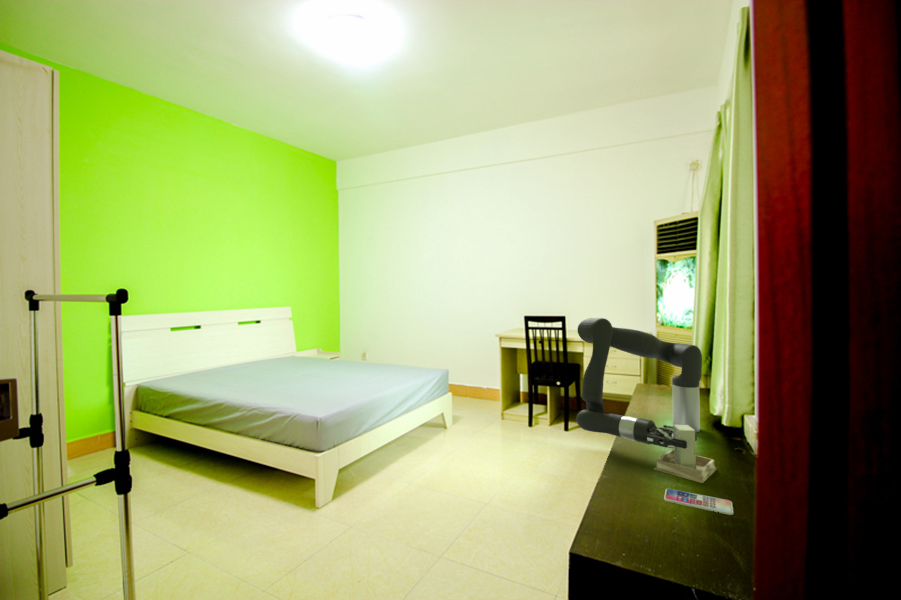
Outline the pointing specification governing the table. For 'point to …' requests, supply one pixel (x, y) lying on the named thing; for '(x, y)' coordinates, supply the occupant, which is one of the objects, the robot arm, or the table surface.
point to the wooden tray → (699, 474)
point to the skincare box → (689, 454)
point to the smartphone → (699, 501)
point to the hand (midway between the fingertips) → (691, 441)
